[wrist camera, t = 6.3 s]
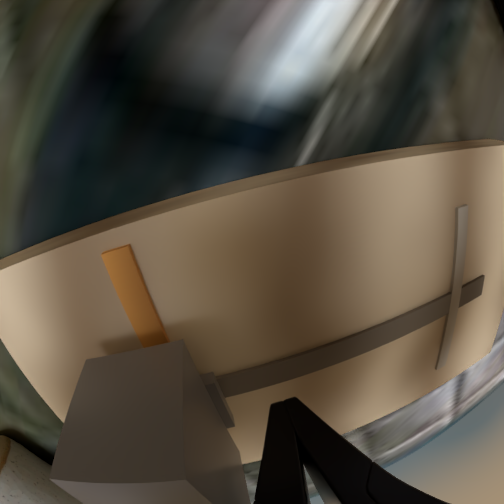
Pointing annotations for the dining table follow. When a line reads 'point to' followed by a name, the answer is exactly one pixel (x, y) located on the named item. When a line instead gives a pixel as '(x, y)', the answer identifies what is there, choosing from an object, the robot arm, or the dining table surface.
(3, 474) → the ceramic mug
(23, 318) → the fader console
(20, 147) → the dining table surface
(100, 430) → the fader tab
